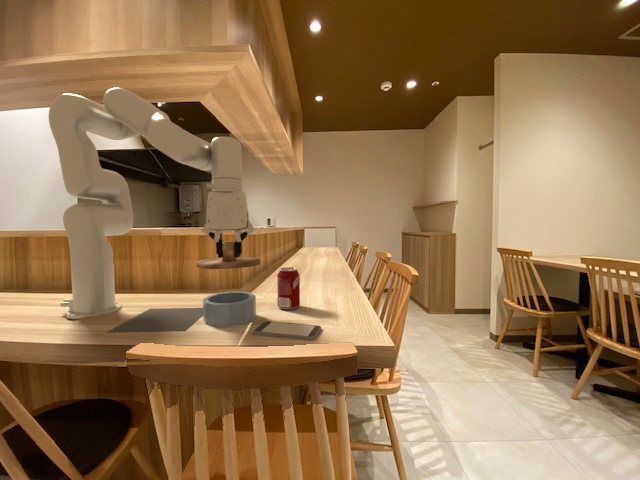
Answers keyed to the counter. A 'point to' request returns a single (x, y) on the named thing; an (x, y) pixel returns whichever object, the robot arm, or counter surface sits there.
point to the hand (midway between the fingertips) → (229, 256)
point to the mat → (161, 320)
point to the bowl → (229, 309)
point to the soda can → (288, 288)
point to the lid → (228, 259)
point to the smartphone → (288, 330)
